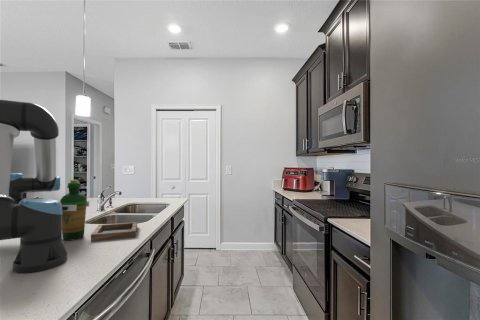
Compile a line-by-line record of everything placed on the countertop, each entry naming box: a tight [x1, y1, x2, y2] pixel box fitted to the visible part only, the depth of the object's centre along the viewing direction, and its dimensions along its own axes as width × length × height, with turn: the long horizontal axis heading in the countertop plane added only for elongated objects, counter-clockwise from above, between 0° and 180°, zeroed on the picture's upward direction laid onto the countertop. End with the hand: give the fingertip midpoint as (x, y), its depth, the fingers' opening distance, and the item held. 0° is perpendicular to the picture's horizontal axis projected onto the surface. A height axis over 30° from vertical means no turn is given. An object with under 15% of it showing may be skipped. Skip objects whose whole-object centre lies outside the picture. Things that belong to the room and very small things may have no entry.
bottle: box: [60, 179, 88, 241], centre depth 117 cm, size 11×11×28 cm
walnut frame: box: [90, 221, 138, 242], centre depth 124 cm, size 19×19×3 cm
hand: (82, 205), depth 117 cm, fingers closed on bottle, 11 cm apart
